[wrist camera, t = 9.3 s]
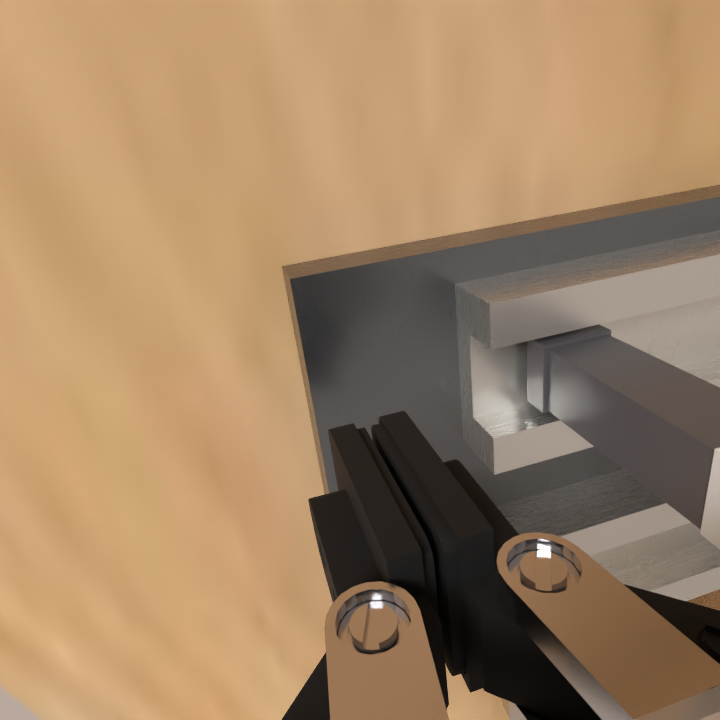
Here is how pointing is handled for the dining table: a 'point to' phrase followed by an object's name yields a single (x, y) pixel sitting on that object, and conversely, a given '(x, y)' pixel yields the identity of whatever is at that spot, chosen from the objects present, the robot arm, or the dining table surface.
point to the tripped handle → (635, 415)
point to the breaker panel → (523, 362)
